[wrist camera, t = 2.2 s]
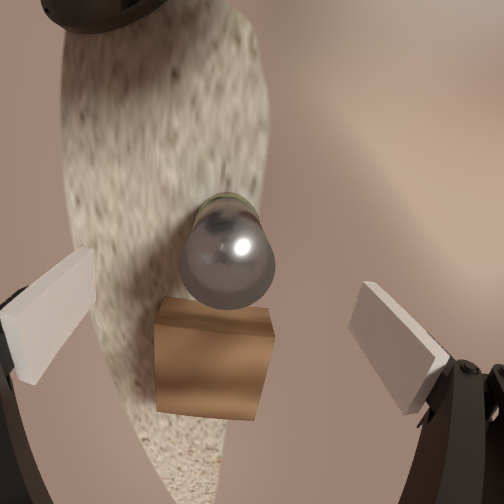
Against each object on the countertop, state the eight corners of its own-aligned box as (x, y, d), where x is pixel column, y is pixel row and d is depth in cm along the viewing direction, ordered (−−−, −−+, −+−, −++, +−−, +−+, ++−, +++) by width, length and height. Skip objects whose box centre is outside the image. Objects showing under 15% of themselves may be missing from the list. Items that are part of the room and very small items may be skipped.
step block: (164, 296, 28) (153, 324, 23) (267, 308, 29) (275, 337, 25) (163, 394, 32) (158, 425, 27) (247, 403, 33) (250, 434, 29)
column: (200, 187, 25) (182, 213, 15) (261, 195, 26) (285, 226, 15) (193, 245, 27) (175, 305, 16) (251, 252, 27) (267, 316, 17)
